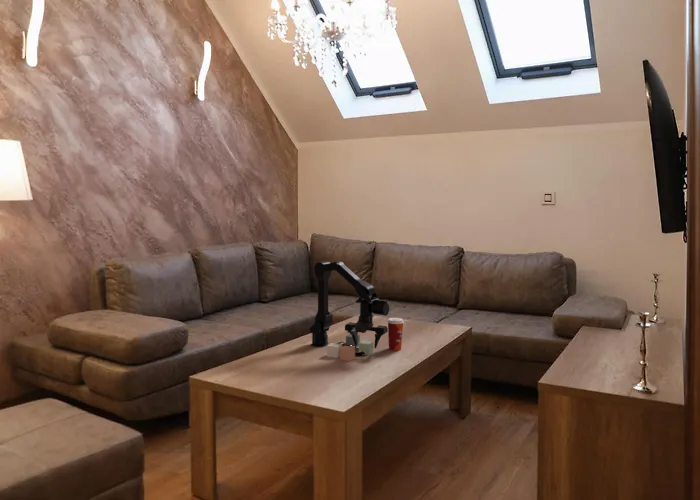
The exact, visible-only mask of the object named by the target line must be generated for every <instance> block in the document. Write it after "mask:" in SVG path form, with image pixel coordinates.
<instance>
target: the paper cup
mask: <svg viewBox="0 0 700 500" xmlns="http://www.w3.org/2000/svg"><path fill="white" fill-rule="evenodd" d="M404 323H405V321H404V319H403V318H401V317H390V318H388V319H387V328H388V332H387V333H388V335H387V336H388V350H390V351H400V350H402V343H403V331H404Z"/></svg>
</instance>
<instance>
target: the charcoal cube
mask: <svg viewBox="0 0 700 500" xmlns="http://www.w3.org/2000/svg"><path fill="white" fill-rule="evenodd" d="M360 338H361V337H360V334H358V343H357V346H355V343H354V340H353V337H352V335H351V334H350V333H349V334H347V335H346V336H345V344H346V343H347V344H349V345H352V346H355V347H356V348H357V347H359V343H360V342H361V339H360Z"/></svg>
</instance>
